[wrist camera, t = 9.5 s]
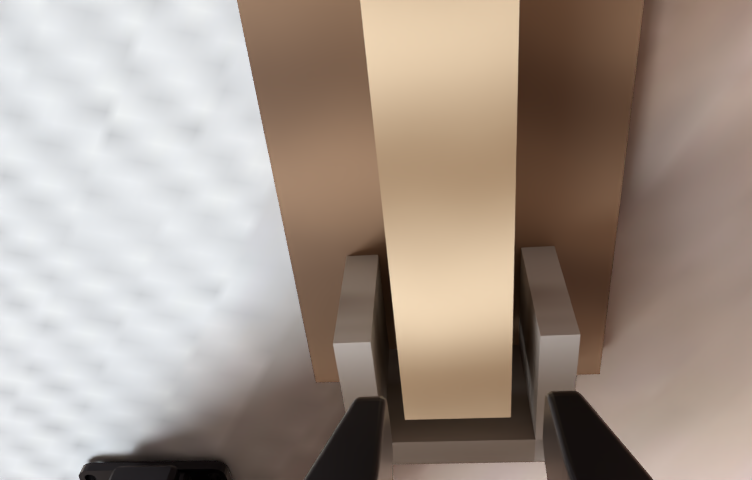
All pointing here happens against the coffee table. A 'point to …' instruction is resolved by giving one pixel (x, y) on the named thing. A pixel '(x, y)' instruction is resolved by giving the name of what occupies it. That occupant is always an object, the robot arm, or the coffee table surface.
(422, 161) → the birch slat
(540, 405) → the end cap base
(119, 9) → the coffee table surface
